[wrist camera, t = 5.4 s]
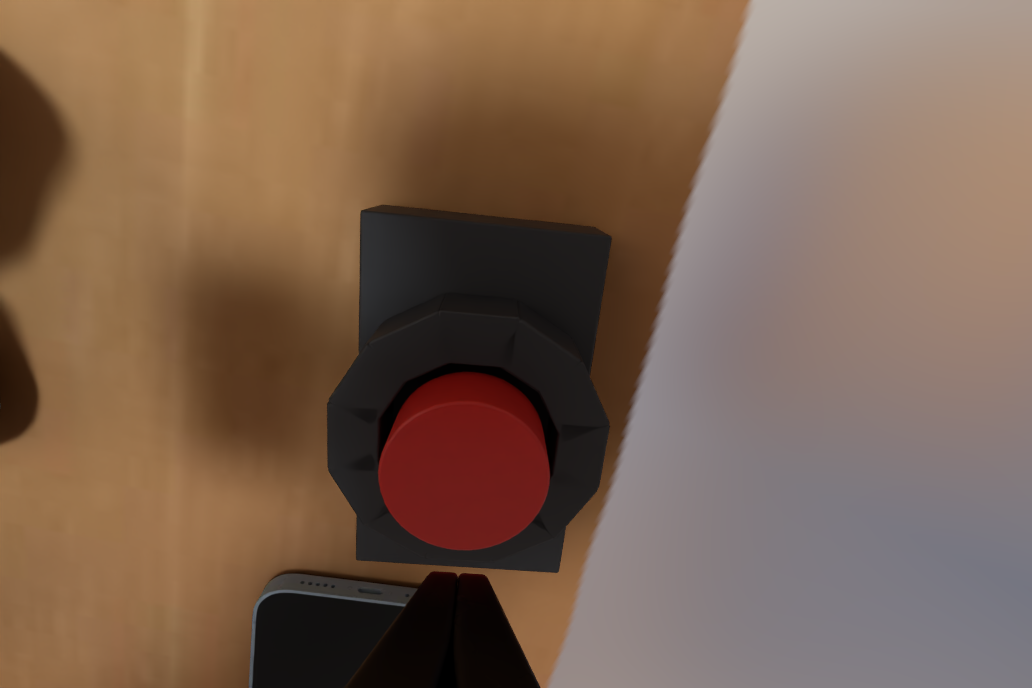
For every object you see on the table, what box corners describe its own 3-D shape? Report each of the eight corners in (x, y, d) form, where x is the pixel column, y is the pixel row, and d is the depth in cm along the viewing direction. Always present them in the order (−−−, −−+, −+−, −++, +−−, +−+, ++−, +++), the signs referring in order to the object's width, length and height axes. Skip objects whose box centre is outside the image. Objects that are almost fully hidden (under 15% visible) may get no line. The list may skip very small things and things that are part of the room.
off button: (534, 509, 13) (539, 556, 12) (390, 499, 13) (375, 546, 11) (552, 377, 12) (560, 409, 11) (396, 363, 12) (379, 395, 10)
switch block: (559, 527, 18) (575, 623, 14) (364, 513, 17) (327, 609, 14) (605, 227, 15) (642, 246, 11) (370, 203, 14) (324, 214, 11)
